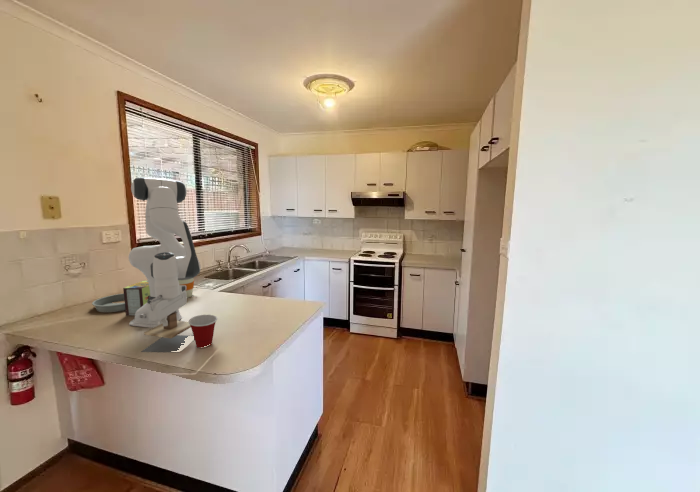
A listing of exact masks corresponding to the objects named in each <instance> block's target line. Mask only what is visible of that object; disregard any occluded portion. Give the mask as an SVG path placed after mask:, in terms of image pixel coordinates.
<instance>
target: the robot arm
mask: <svg viewBox="0 0 700 492" xmlns="http://www.w3.org/2000/svg"><path fill="white" fill-rule="evenodd" d="M130 186H131V187H130V190H131V193H132V195H133V197H134V198H135V199H137V200H140V201H144V202H145V201H146V205H145V233H146V234H147V235H148V236H149V237H151V238H152V239H155V240H158V241H159V243H160V245H143V246H138V247H133V248H132V249H130V251H129V253H128V261H129V263H130V265H131V266H132V267H134V268H135V269H137V270H139V271H140V272H141V273H142V274H143V275H144V276H145V278H146V279H147V280H146V281H148V283H149V289H150V295H149V296H148V297H146V299H148V301H147V303H146V304H144V305H143V306H142V307H141V308H139V309H138V310H137V311H136V313H135V316H134V318H133V319H132V320H131V321H130V322H129V325H128V326H134V327H143V328H151V329H152V328H154V327H156V326H158V325H160V324H162V323H163V326H168V325H169V321H167V316H168V315H170V314H171V313H176V316H177V321H181V319H182V315H181V313H180V309H181V308H182V307H184V306H186V305H187V301H188V300H187V299H188V298H187V295H186V291H185V290H186V285H179V281H178V278H195V277H197V276H198V275H199V274H200V273H201V269H202V266H201V262H200V259H199V257H198V255H197V252H196V249H195V244H194V241H193V238H192V233H191V231H190V227H189V225H188V223H187V222H186V221H184V220H183V219H182V218H181V217H180V214H179V206H178V204H179V203H182V202H184V201H185V200H186V197H187V192H188V191H187V187H186V185H185V183H184V182H182V181H179V180H173V179H168V178H157V177H156V178H155V177H153V178H152V177H144V176H143V177H136V178H134V179H133V181H132V183H131V185H130ZM176 236H178V237H179V238H180V239H181V241H182V243H183V244H182V243H180V242H179V241H178V239H177V238H176ZM146 299H145V300H146Z"/></svg>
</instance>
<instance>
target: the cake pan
mask: <svg viewBox="0 0 700 492" xmlns="http://www.w3.org/2000/svg"><path fill="white" fill-rule="evenodd" d="M123 301H124V292H123V293H117V294H116V293H115V294H112V295H107V296H103V297H100V298H97V299H95V300H93V301H92V303H91V305H93V306H94V307H95V310H96V311H97V312H99V313H113V312H115V313H116V312H121V311H126V310H125V301H124V302H123Z"/></svg>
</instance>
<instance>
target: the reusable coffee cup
mask: <svg viewBox="0 0 700 492" xmlns="http://www.w3.org/2000/svg"><path fill="white" fill-rule="evenodd" d="M194 278H195V277H194ZM194 278H178V281H179V285H186V290H185V291H186V295H187V299H188V298H191V297H192V296H193V291H194V287H195V286H194V285H195V280H194Z"/></svg>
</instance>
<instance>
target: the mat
mask: <svg viewBox="0 0 700 492" xmlns="http://www.w3.org/2000/svg"><path fill="white" fill-rule="evenodd" d="M188 336H189V335H187V334H186V335H184V334H183V335H180V334H178V335H177V336H175V337H173V338H164V337H159V339H157V340H156V341H154V342H153V343H151V344H150V345H148V346H147V347H145V348H144V349H142V351H140V353H172V352H171V351H177V350H179V349H178V348H180V346H181V345H184V344H181V343H185V341H184V340H185V338H187V337H188Z"/></svg>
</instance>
